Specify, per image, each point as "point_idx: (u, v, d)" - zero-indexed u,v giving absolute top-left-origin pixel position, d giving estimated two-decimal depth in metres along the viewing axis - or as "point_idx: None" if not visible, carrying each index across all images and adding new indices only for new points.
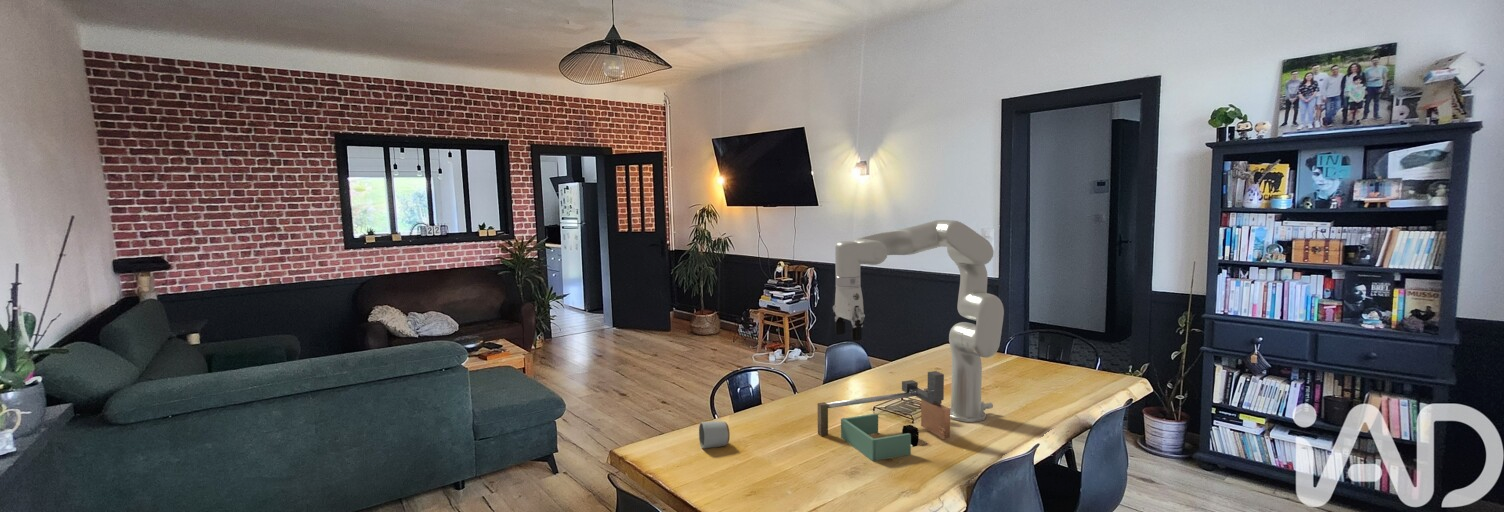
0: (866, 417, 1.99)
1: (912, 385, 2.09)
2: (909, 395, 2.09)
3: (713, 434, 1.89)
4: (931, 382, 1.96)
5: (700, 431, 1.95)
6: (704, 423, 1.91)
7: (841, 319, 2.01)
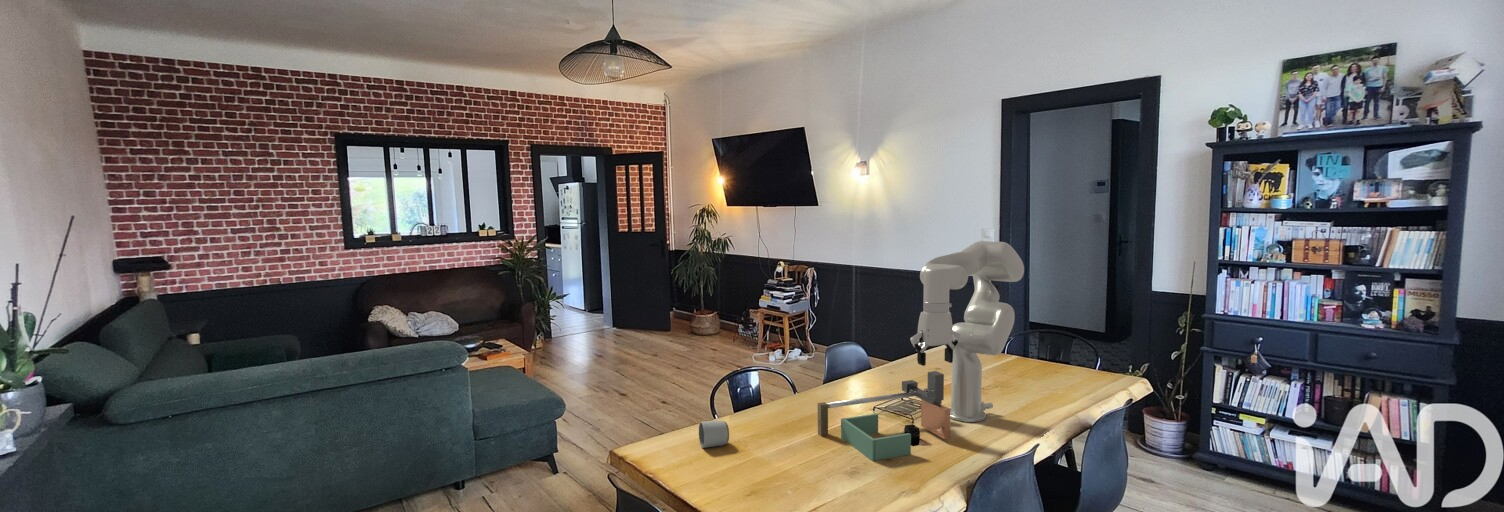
0: (866, 417, 1.99)
1: (912, 385, 2.09)
2: (909, 395, 2.09)
3: (713, 433, 1.89)
4: (931, 382, 1.96)
5: (700, 430, 1.95)
6: (704, 422, 1.91)
7: None
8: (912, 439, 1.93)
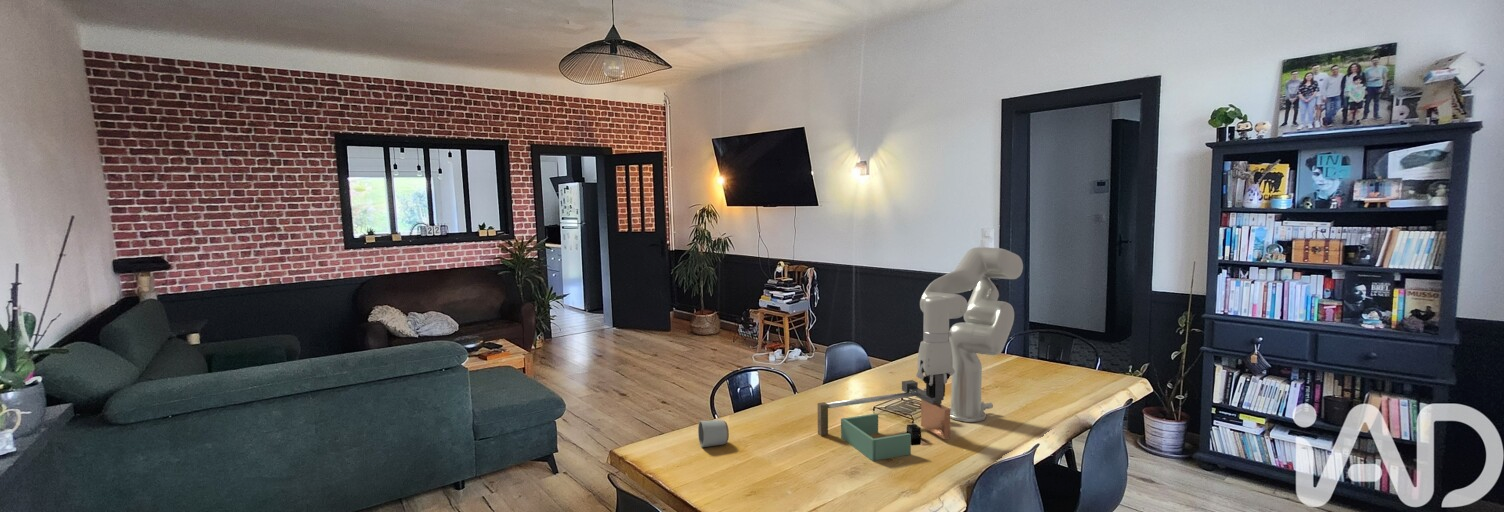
0: (866, 417, 1.99)
1: (912, 385, 2.09)
2: (909, 395, 2.09)
3: (712, 433, 1.90)
4: None
5: (699, 430, 1.96)
6: (703, 422, 1.92)
7: None
8: (913, 439, 1.93)
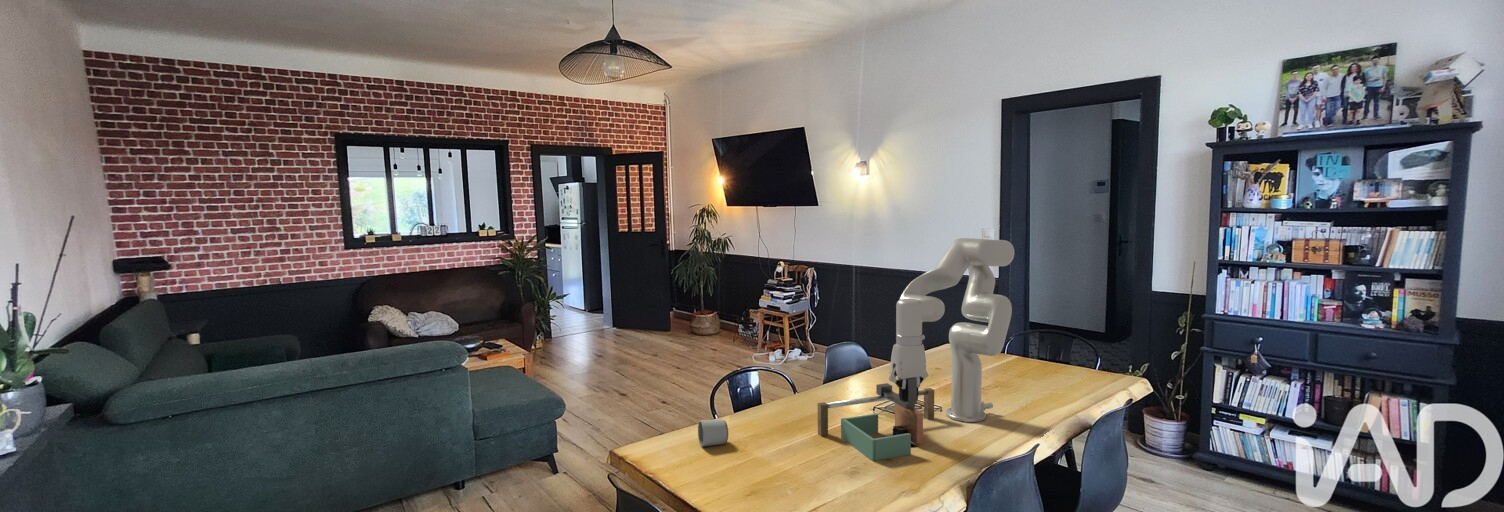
0: (866, 417, 1.99)
1: (887, 388, 2.05)
2: None
3: (712, 432, 1.90)
4: None
5: (699, 429, 1.96)
6: (703, 421, 1.92)
7: None
8: None
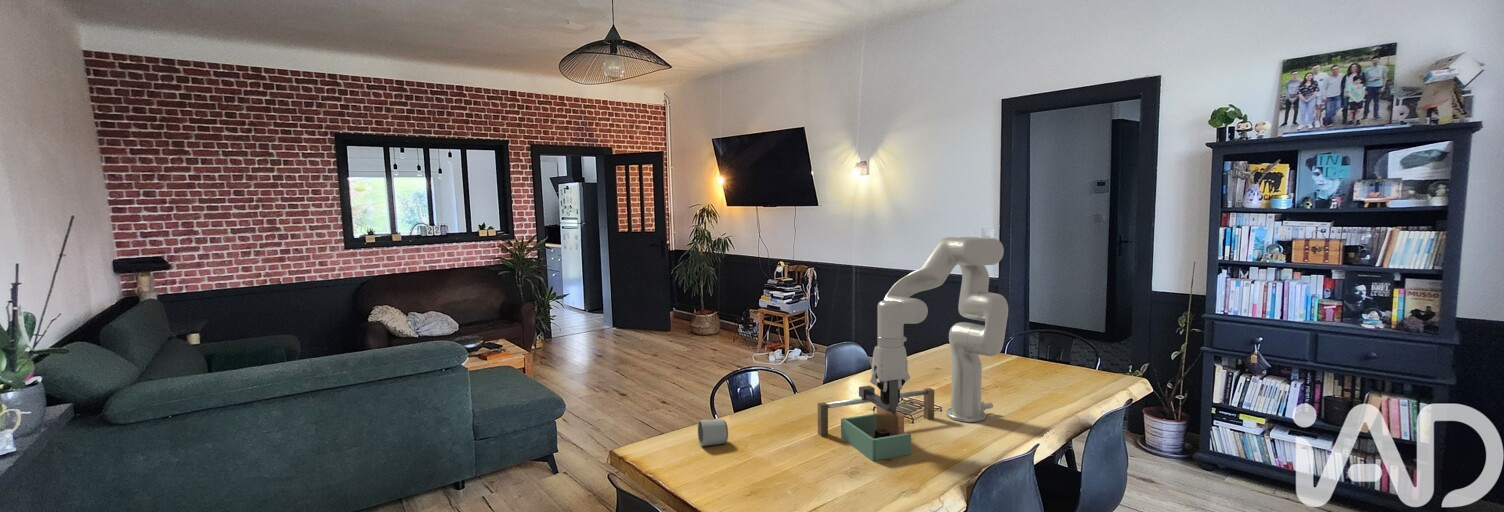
0: (866, 417, 1.99)
1: (869, 391, 2.03)
2: (909, 395, 2.09)
3: (712, 432, 1.91)
4: None
5: (699, 429, 1.97)
6: (703, 421, 1.93)
7: None
8: None
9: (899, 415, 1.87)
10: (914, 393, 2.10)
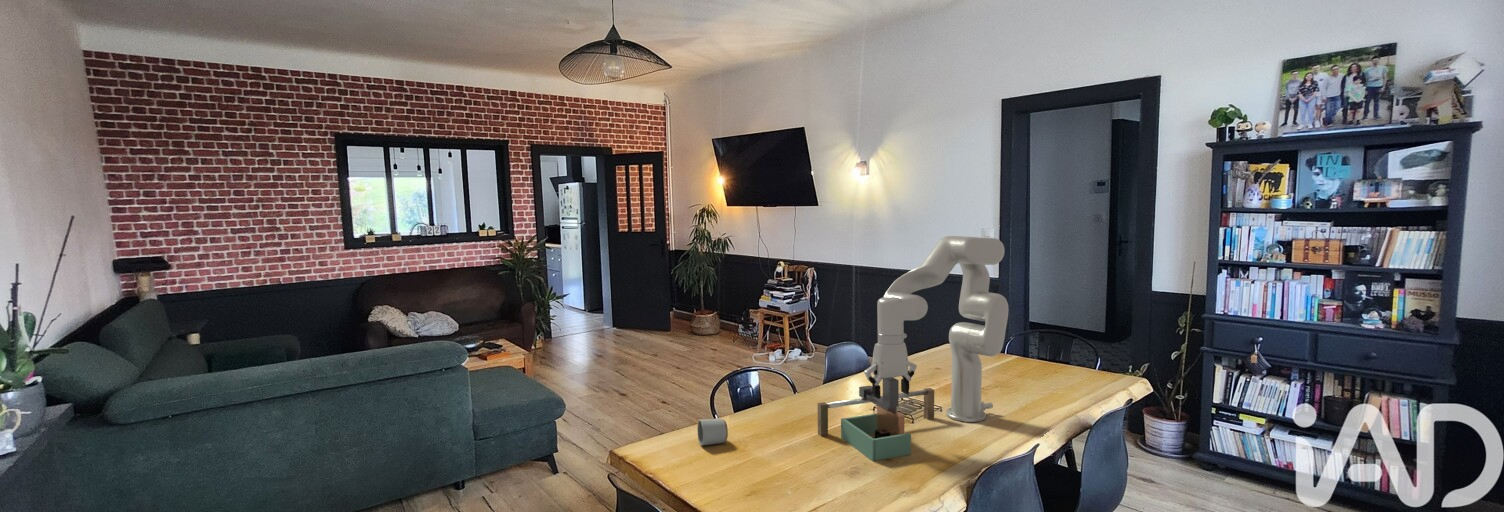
0: (866, 417, 1.99)
1: (869, 391, 2.03)
2: (909, 395, 2.09)
3: (711, 431, 1.91)
4: (886, 388, 1.91)
5: (699, 428, 1.97)
6: (702, 420, 1.93)
7: None
8: None
9: (899, 415, 1.87)
10: (914, 393, 2.10)
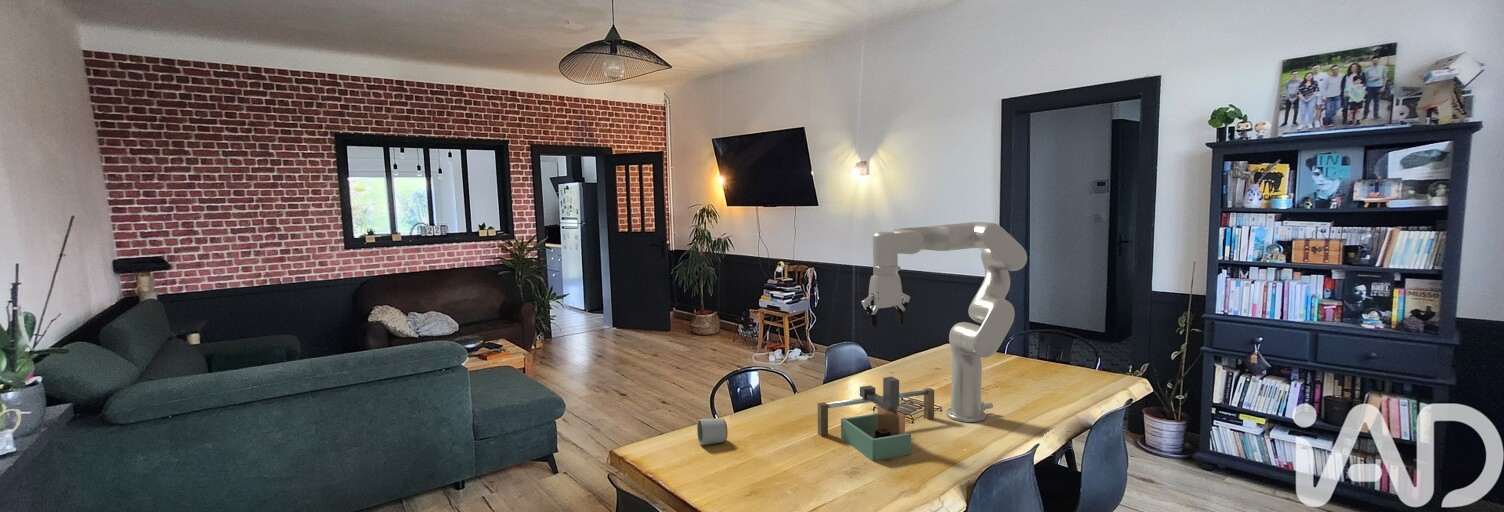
0: (866, 417, 1.99)
1: (870, 390, 2.03)
2: (909, 395, 2.09)
3: (711, 431, 1.91)
4: (886, 388, 1.91)
5: (698, 428, 1.97)
6: (702, 420, 1.93)
7: None
8: None
9: (900, 415, 1.87)
10: (914, 393, 2.10)
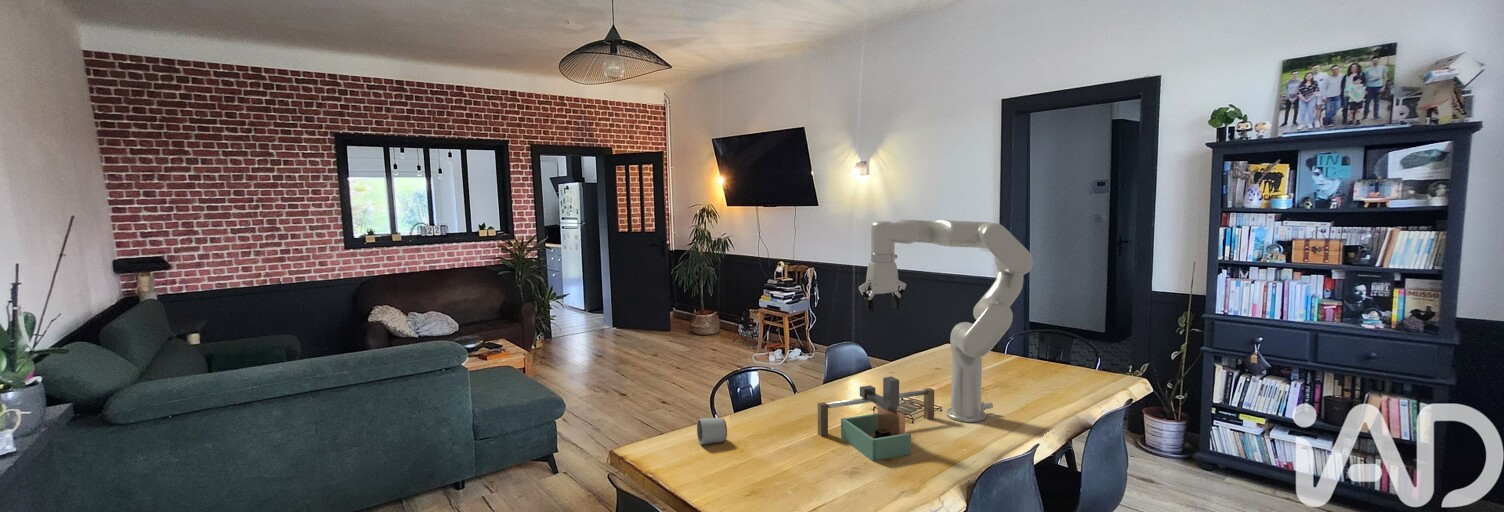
0: (866, 417, 1.99)
1: (870, 390, 2.03)
2: (909, 395, 2.09)
3: (711, 430, 1.92)
4: (886, 388, 1.91)
5: (698, 427, 1.98)
6: (702, 420, 1.94)
7: None
8: None
9: (900, 415, 1.87)
10: (914, 393, 2.10)
